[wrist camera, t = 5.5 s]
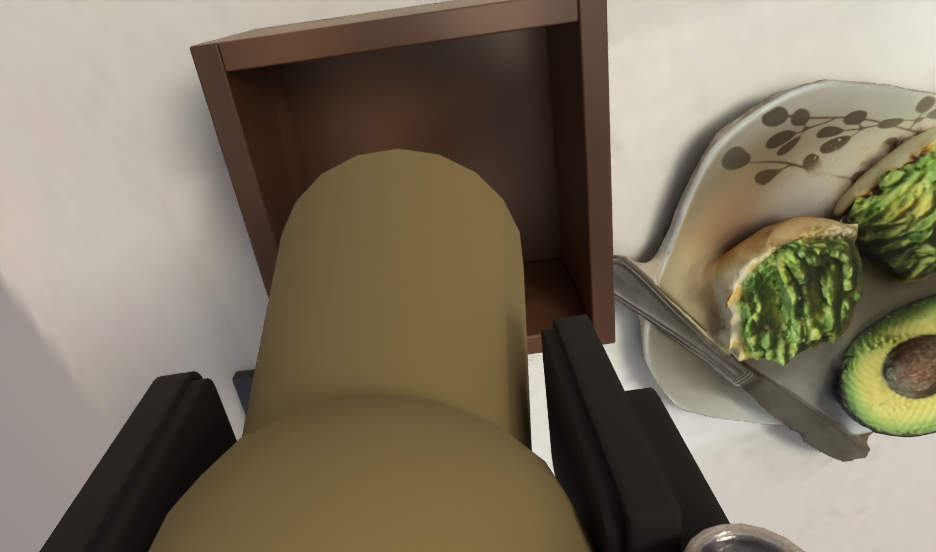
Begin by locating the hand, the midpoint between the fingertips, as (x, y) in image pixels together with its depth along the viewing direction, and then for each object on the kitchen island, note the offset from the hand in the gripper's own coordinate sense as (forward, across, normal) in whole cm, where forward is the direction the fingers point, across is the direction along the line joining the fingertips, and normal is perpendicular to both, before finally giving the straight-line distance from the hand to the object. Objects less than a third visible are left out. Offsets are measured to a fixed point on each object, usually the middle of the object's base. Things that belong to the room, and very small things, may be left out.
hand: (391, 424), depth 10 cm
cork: (+6, 0, 0) cm, 6 cm away
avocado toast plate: (+17, -18, +8) cm, 26 cm away
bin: (+17, -1, 0) cm, 17 cm away
